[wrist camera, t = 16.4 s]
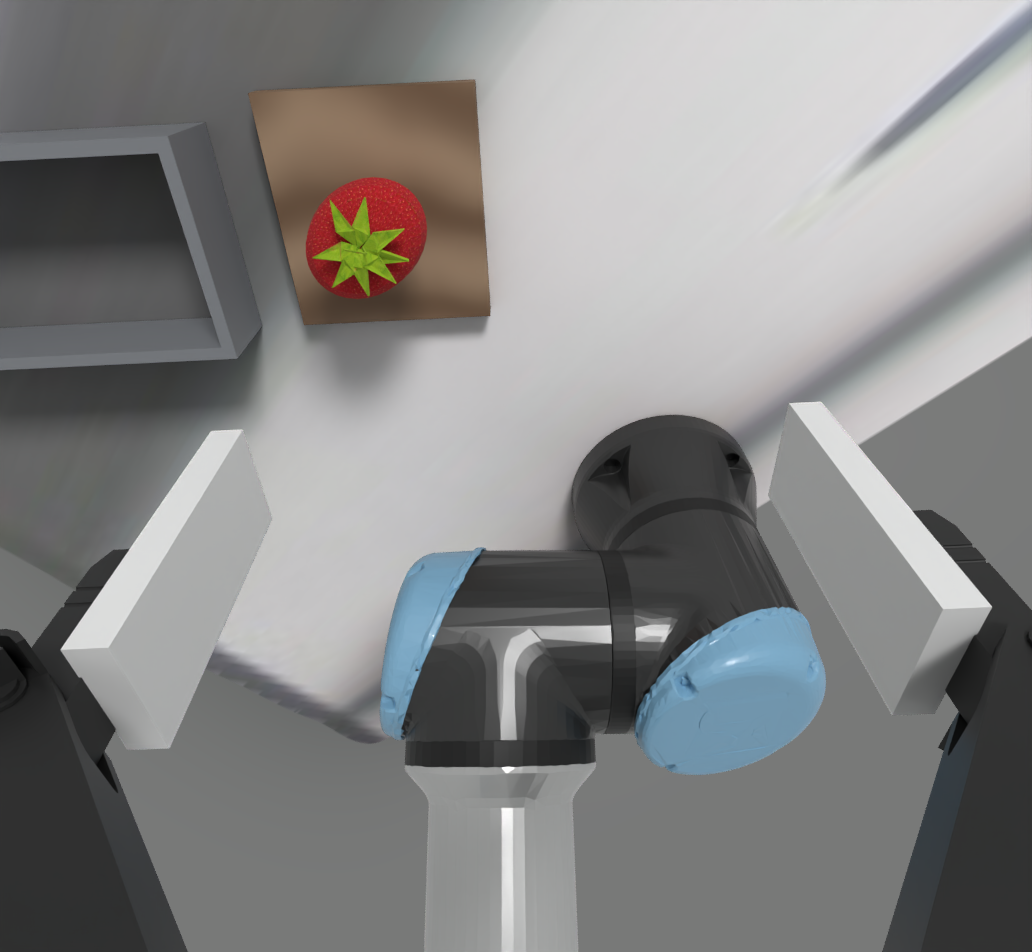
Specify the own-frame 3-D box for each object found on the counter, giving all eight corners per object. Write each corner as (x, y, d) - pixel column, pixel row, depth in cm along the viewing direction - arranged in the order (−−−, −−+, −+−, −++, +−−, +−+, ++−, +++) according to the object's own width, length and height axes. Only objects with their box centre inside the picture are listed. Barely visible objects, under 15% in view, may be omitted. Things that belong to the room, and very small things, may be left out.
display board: (490, 307, 47) (490, 315, 45) (309, 316, 47) (303, 324, 46) (475, 79, 39) (474, 81, 37) (256, 90, 39) (248, 93, 37)
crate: (262, 325, 47) (237, 358, 43) (-41, 340, 47) (-98, 374, 43) (205, 122, 40) (167, 136, 35) (-156, 140, 40) (-239, 156, 35)
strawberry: (304, 216, 41) (256, 265, 33) (391, 134, 39) (361, 165, 31) (371, 288, 44) (341, 350, 36) (456, 216, 42) (445, 265, 33)
